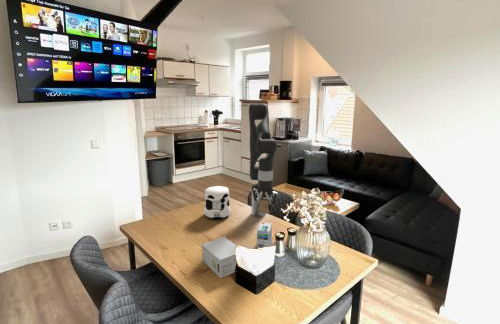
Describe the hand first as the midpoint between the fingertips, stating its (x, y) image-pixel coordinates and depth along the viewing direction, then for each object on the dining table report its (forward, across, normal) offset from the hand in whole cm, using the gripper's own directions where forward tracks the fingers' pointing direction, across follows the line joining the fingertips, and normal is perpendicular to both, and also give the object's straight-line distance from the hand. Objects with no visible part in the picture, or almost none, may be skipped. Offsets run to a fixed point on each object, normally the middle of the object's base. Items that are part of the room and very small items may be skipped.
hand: (264, 209), depth 151 cm
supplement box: (+21, +11, +25) cm, 35 cm away
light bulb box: (+20, 0, 0) cm, 20 cm away
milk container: (+20, +42, -23) cm, 52 cm away
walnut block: (+1, 0, 0) cm, 1 cm away
